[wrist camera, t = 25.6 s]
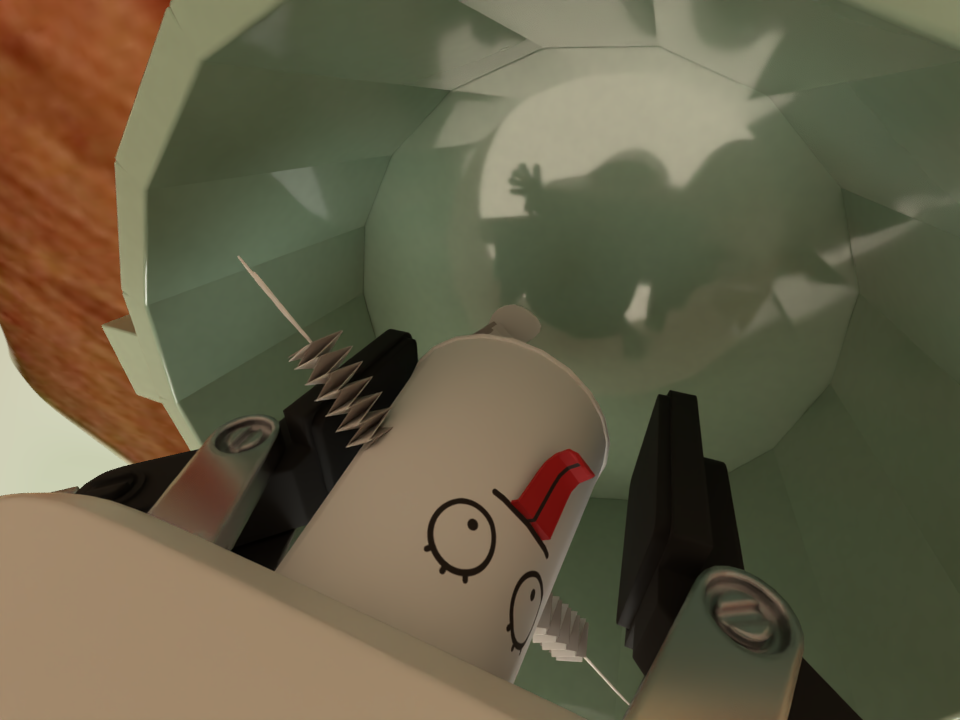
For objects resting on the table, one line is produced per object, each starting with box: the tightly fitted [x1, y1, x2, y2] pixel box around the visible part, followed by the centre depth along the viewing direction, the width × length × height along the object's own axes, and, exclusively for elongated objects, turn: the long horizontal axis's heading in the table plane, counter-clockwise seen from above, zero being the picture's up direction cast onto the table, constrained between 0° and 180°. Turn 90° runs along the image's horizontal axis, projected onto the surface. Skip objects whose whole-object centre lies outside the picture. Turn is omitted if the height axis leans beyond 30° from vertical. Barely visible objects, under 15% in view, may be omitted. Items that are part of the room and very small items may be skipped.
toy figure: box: [237, 256, 630, 705], centre depth 8 cm, size 12×6×9 cm, turn 41°
